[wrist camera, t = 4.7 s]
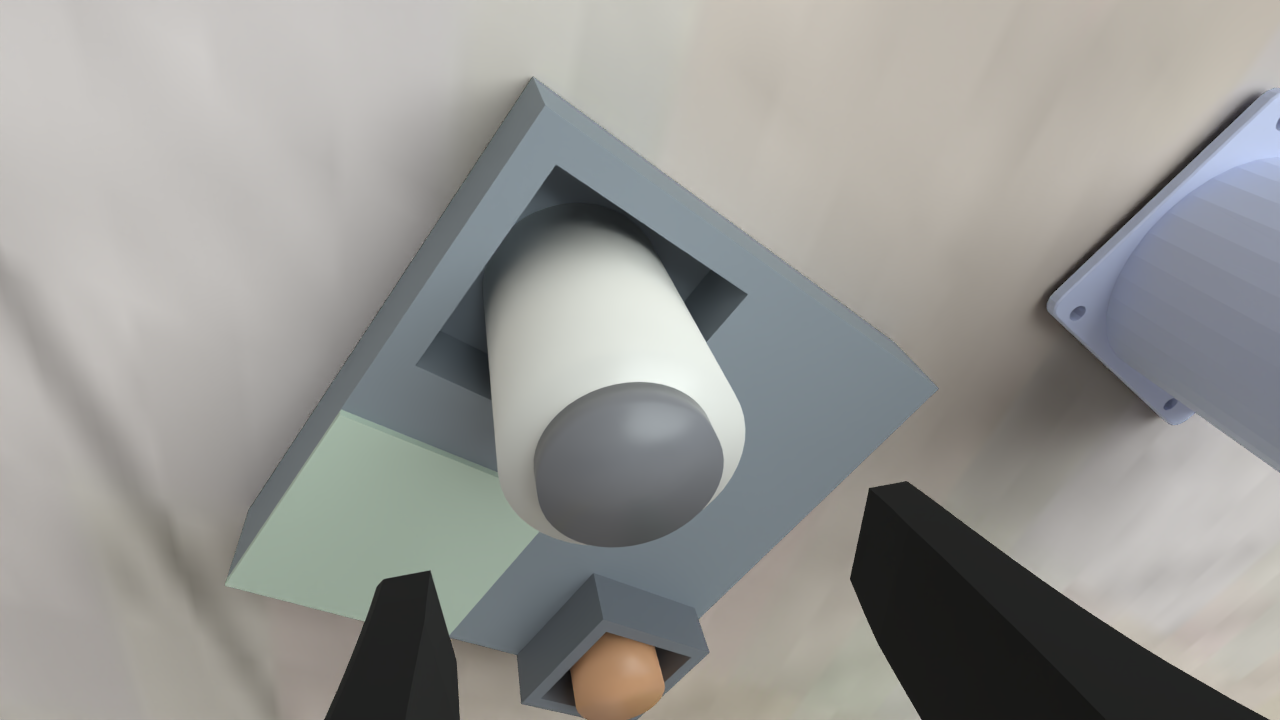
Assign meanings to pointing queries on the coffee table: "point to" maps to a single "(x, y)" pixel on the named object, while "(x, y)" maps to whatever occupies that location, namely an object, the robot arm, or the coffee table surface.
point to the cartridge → (601, 383)
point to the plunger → (617, 679)
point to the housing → (465, 439)
